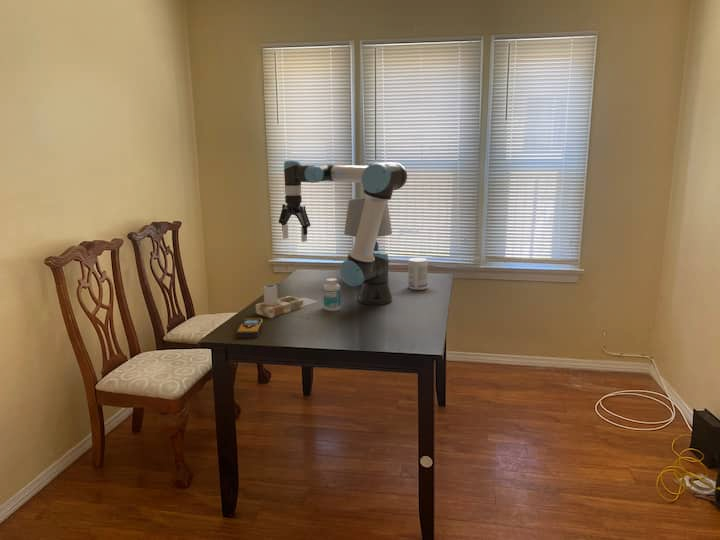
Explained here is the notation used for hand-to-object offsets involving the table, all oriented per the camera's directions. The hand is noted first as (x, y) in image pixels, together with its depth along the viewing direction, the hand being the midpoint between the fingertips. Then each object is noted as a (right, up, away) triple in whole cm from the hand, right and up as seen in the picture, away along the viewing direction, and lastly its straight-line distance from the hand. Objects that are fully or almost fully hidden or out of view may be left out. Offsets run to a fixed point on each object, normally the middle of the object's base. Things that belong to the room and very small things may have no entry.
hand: (294, 240), depth 245 cm
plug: (-7, -33, -23) cm, 41 cm away
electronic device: (-12, -38, -44) cm, 60 cm away
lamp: (+35, -20, +34) cm, 53 cm away
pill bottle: (+19, -32, -17) cm, 41 cm away
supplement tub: (+60, -23, +17) cm, 66 cm away
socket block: (-4, -32, -20) cm, 38 cm away
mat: (+5, -29, -8) cm, 31 cm away
